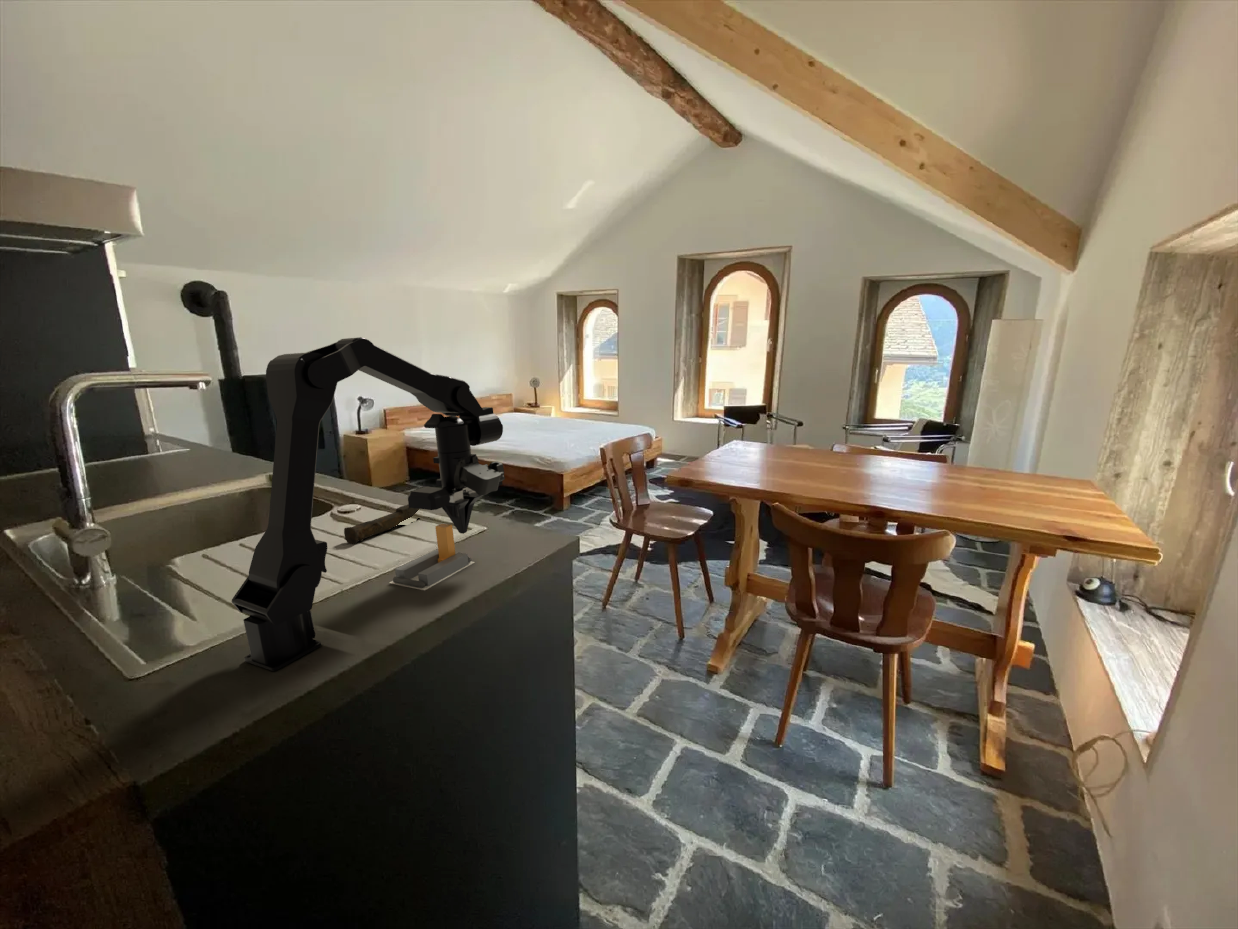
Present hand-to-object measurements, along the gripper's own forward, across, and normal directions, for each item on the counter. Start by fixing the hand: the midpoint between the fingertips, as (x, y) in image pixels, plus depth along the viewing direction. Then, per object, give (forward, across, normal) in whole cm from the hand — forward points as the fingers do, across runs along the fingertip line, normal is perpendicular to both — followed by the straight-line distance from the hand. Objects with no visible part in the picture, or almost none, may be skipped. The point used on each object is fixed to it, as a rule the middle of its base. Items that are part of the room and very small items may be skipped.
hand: (463, 533), depth 95 cm
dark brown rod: (+6, +9, +32) cm, 33 cm away
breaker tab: (+4, -4, 0) cm, 6 cm away
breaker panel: (+6, -8, 0) cm, 10 cm away
